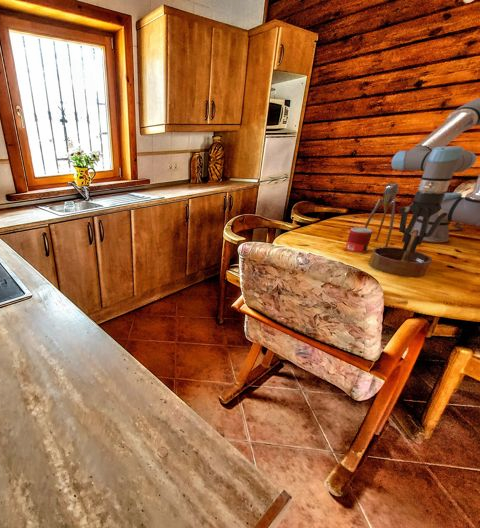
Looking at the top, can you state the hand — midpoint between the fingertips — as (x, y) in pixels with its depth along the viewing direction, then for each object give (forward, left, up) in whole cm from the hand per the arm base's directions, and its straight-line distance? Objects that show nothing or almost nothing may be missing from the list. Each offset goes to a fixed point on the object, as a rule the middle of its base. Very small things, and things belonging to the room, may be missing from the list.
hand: (408, 250), depth 112 cm
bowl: (+3, -1, -8) cm, 8 cm away
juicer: (-24, -19, -8) cm, 32 cm away
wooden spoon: (0, 0, -6) cm, 6 cm away
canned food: (-7, -19, -8) cm, 22 cm away
